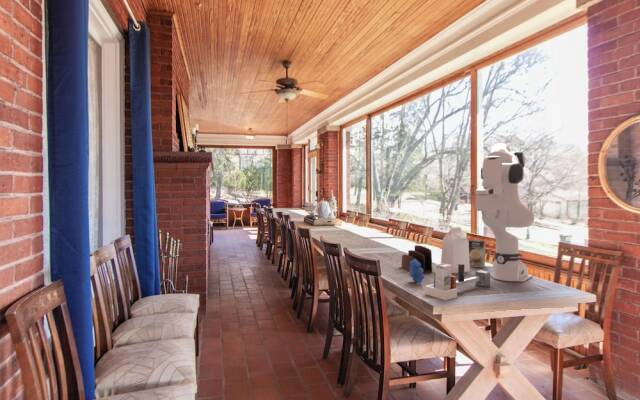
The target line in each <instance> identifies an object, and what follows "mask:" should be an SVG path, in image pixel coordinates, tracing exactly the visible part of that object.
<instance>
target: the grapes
mask: <svg viewBox="0 0 640 400" xmlns="http://www.w3.org/2000/svg"><path fill="white" fill-rule="evenodd" d="M420 267H421V263H420V262H417V260H415V259H414V260H413V261H411V262H410V267H409V270H408V271H409V272H408V273H409V275H410V277H411V278H412V280H413V282H414V283H418V284H421V283H422V282H423V280H424V278H425V276H424V273H423V272H424V270H423V269H422V268H420Z"/></svg>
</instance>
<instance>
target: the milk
mask: <svg viewBox="0 0 640 400" xmlns="http://www.w3.org/2000/svg"><path fill="white" fill-rule="evenodd" d="M440 263H445V264H449V265H451V274H458V264H464V273H470V271H471V269H470V267H471V266H470V264H469V239H468V237H467V235H466V234H465V233H464V232H463V231H462V227H461V226H450V227H449V231H447V233H446V235H444V237H443V238H442V245H441V260H440Z"/></svg>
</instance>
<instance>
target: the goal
mask: <svg viewBox="0 0 640 400" xmlns="http://www.w3.org/2000/svg"><path fill="white" fill-rule="evenodd" d="M424 295H426V296H429V295H430V297H433V298H437V299H439V300H444V301H448V300H451V299H452V298H453V299H455V298H456V299H457V298H458V288H457V287H456V288H454V289H450V290H446V291H445V290H441V289H437V288H434V283H433V284H428V285H424Z"/></svg>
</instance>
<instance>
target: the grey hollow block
mask: <svg viewBox="0 0 640 400" xmlns="http://www.w3.org/2000/svg"><path fill="white" fill-rule="evenodd" d="M490 274H491V271H486V270H482V269H480V270H475V277H476V276H478V277H480V281H476V282H474V283H475V286H479V287H484V288H486V286H487V287H489V286H491V275H490Z"/></svg>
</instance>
